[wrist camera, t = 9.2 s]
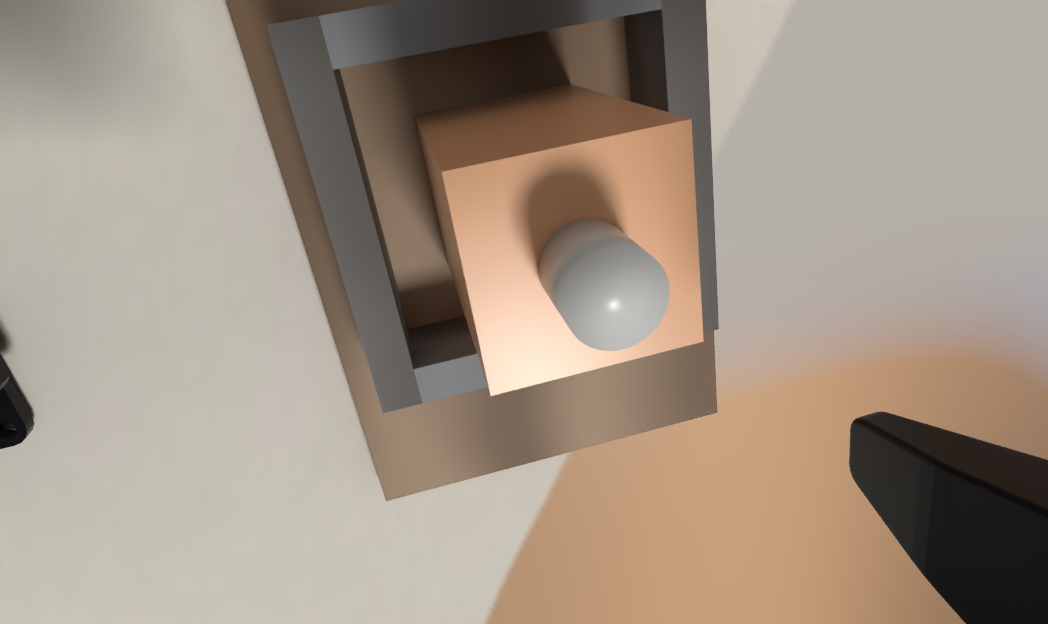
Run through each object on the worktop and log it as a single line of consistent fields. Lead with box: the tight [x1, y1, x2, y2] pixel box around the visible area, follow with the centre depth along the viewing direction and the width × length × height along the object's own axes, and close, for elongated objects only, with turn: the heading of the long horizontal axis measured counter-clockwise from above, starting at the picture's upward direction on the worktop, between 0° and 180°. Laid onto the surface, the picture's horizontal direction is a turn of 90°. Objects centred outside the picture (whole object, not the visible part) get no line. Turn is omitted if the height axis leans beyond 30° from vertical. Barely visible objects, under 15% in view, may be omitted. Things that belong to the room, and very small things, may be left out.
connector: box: [414, 84, 704, 396], centre depth 13 cm, size 4×4×9 cm
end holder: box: [226, 0, 719, 501], centre depth 17 cm, size 11×18×3 cm, turn 9°
